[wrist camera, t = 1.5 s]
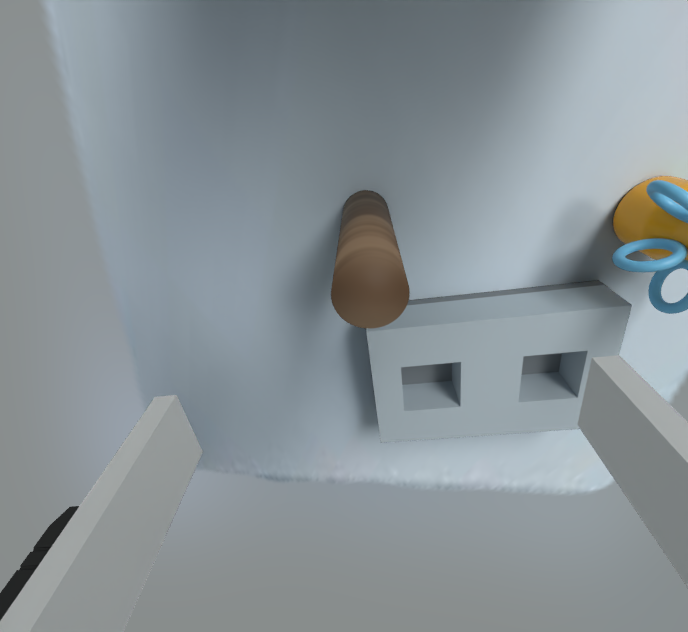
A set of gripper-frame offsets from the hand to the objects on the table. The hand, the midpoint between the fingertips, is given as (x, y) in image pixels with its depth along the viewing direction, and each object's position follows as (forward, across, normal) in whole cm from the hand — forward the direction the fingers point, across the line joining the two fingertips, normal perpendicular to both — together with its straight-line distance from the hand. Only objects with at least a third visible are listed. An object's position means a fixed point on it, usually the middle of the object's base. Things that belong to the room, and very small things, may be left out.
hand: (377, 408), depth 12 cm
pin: (+24, 0, 0) cm, 24 cm away
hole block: (+24, +10, -16) cm, 31 cm away
